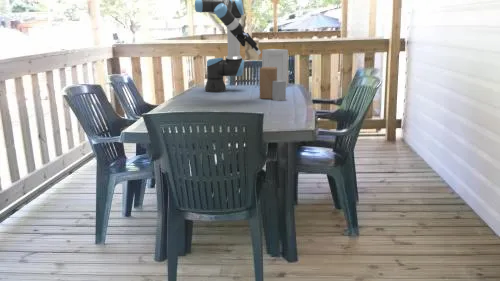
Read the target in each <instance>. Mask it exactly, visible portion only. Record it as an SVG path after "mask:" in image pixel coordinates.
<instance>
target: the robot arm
mask: <svg viewBox="0 0 500 281" xmlns="http://www.w3.org/2000/svg"><path fill="white" fill-rule="evenodd" d="M194 10H195V13H209V14H212V15H216V17H217V19H219V20H220V22H222V24H223V25H224V26H225V27H226V32H227V33H226V34H227V36H226V37H227V55H226V56H225V59H224V58H223V57H215V58H210V59H207V61H206V82H205V87H204V91H205V92H208V93H209V92H210V93H221V92H223V93H224V92H226V91H227V86H226V84H225V80H224V77H242V76H243V74H244V69H245V68H244V67H245V59H243V57H242V55H241V47H240V46H242V47H244V48H245V41H246V42H247V43H248V44H249V45H250V46H252V49H253V50H254V51H255V52H256V53H257V55H259V56H260V55H261V54H262V50H261V49H260V48H259V49H258V47H257V46H256V45H257V43H256V42H255V41H254V40H255V39H254V38H252V36H251V35H250V33H249V32H245V31H244V30H243V29H244V27H243V25H242V24H241V23H240V20H241V19H242V17H243V15H244V14H245V13H244V4H243V0H194Z"/></svg>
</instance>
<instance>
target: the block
mask: <svg viewBox="0 0 500 281" xmlns="http://www.w3.org/2000/svg"><path fill="white" fill-rule="evenodd" d="M273 81H277V67H262V66H261V67H260V68H259V99H261V100H272V86H273Z"/></svg>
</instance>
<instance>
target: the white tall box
mask: <svg viewBox="0 0 500 281" xmlns="http://www.w3.org/2000/svg"><path fill="white" fill-rule="evenodd" d="M261 54H262V56H261V60H262V61H261V62H262V64H261V68H262V67H277V81H278V80H281V81H286V88H288V78H289V77H288V76H289V75H288V71H289V70H288V66H289V64H288V62H289V50H288V49H279V48H268V49H262V50H261Z"/></svg>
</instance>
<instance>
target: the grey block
mask: <svg viewBox="0 0 500 281" xmlns="http://www.w3.org/2000/svg"><path fill="white" fill-rule="evenodd" d="M286 91H287V87H286V81H281V80H278V81H273V86H272V99H271V100H273V101H276V102H283V101H286V96H287V92H286Z"/></svg>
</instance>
